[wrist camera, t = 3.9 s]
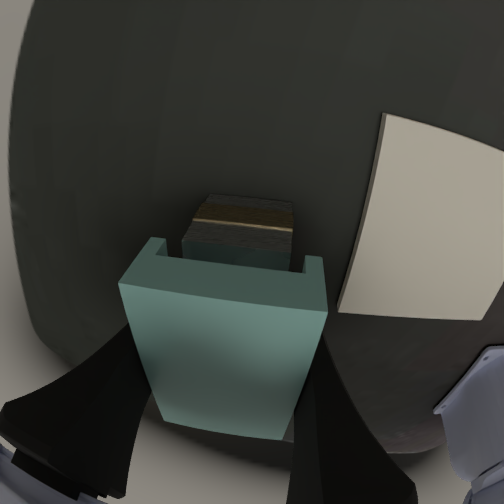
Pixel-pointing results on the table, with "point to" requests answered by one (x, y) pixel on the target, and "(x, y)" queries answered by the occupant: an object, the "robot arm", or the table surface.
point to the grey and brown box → (241, 232)
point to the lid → (224, 338)
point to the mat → (428, 226)
